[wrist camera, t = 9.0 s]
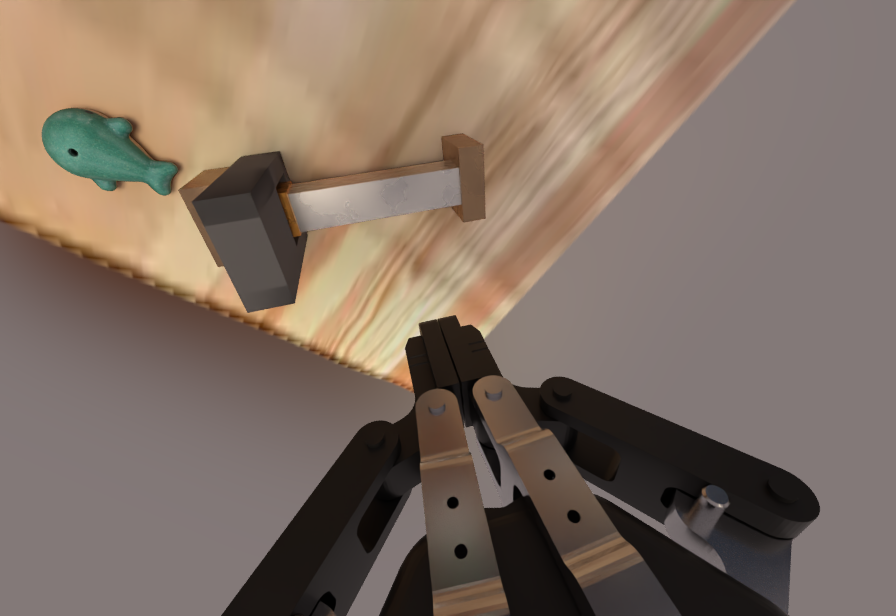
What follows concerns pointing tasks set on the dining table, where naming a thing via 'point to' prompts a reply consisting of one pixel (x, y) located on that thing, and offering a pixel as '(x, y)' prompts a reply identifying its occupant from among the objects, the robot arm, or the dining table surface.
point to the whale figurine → (102, 150)
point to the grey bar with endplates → (373, 192)
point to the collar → (254, 231)
